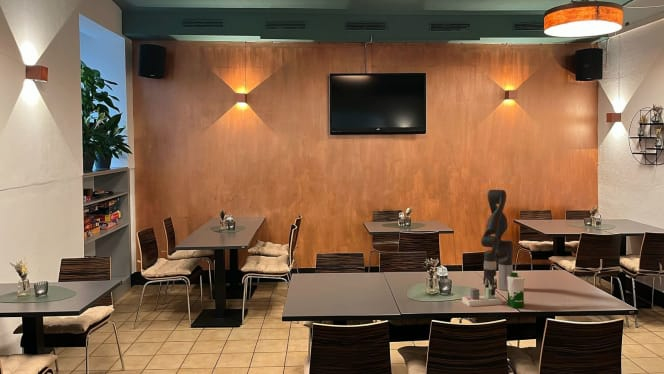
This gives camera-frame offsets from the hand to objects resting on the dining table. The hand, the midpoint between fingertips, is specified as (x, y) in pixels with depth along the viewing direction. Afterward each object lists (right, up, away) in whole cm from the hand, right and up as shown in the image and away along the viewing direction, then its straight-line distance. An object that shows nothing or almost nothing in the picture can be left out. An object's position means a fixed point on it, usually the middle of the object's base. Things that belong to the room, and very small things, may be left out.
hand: (490, 293), depth 351 cm
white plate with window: (-5, -6, -1) cm, 8 cm away
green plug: (0, -6, 0) cm, 6 cm away
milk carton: (+13, -6, -10) cm, 17 cm away
